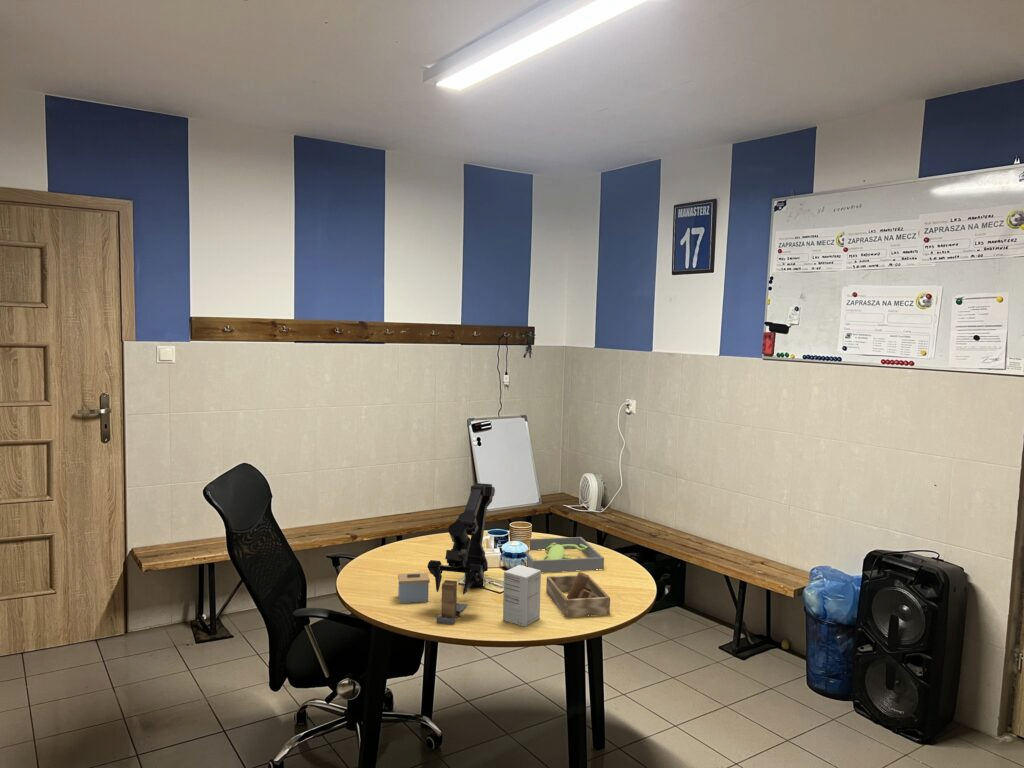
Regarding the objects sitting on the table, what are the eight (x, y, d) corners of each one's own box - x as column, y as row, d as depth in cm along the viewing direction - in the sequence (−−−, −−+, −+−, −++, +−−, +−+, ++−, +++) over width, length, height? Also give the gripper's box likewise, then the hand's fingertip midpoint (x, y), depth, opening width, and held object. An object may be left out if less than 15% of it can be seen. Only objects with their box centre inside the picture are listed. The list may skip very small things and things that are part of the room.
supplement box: (517, 611, 258) (519, 564, 256) (540, 618, 252) (542, 569, 251) (501, 620, 250) (503, 571, 248) (524, 627, 244) (526, 577, 243)
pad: (450, 604, 263) (450, 602, 263) (467, 605, 261) (467, 604, 261) (445, 610, 257) (445, 608, 257) (462, 612, 256) (462, 610, 256)
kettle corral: (580, 547, 333) (581, 536, 332) (603, 569, 304) (604, 557, 303) (515, 550, 326) (515, 539, 326) (532, 573, 297) (532, 561, 297)
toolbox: (426, 594, 272) (427, 570, 271) (429, 601, 264) (429, 577, 263) (397, 595, 269) (397, 571, 269) (399, 603, 262) (399, 578, 261)
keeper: (443, 613, 254) (443, 607, 254) (460, 615, 253) (460, 609, 253) (436, 622, 246) (436, 616, 246) (453, 624, 245) (453, 618, 245)
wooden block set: (595, 620, 258) (607, 593, 258) (573, 611, 257) (585, 584, 256) (583, 598, 276) (595, 574, 275) (562, 590, 275) (574, 565, 274)
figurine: (589, 554, 325) (590, 542, 324) (573, 573, 300) (574, 559, 299) (549, 549, 331) (549, 536, 330) (530, 567, 306) (530, 553, 305)
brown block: (444, 616, 252) (445, 580, 251) (456, 617, 251) (456, 581, 250) (441, 620, 248) (441, 584, 247) (452, 622, 247) (453, 585, 246)
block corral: (587, 590, 280) (587, 574, 280) (609, 614, 257) (610, 597, 256) (546, 592, 277) (546, 576, 276) (564, 617, 253) (565, 600, 253)
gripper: (429, 536, 256) (418, 578, 246) (482, 541, 252) (473, 584, 242) (436, 552, 264) (425, 594, 254) (487, 557, 260) (478, 599, 250)
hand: (450, 592), depth 250 cm, fingers open, 9 cm apart
